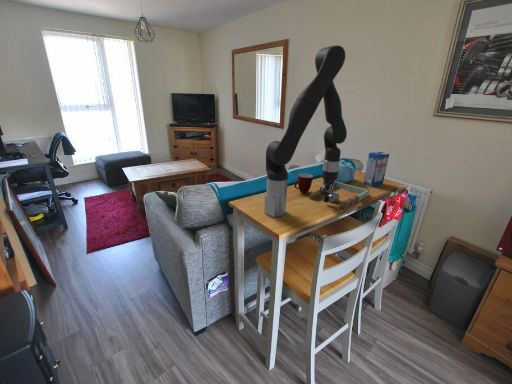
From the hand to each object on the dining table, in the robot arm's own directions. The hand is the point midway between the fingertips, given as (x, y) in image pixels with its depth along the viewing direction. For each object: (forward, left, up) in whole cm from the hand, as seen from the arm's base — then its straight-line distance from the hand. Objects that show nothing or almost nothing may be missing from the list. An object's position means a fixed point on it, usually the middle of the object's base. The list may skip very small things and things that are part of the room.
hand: (326, 201), depth 129 cm
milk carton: (+50, -5, -2) cm, 50 cm away
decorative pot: (+41, +13, -2) cm, 43 cm away
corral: (+22, 0, -2) cm, 22 cm away
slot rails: (+8, 0, -2) cm, 8 cm away
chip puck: (+7, 0, -2) cm, 7 cm away
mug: (+5, +18, -2) cm, 19 cm away
